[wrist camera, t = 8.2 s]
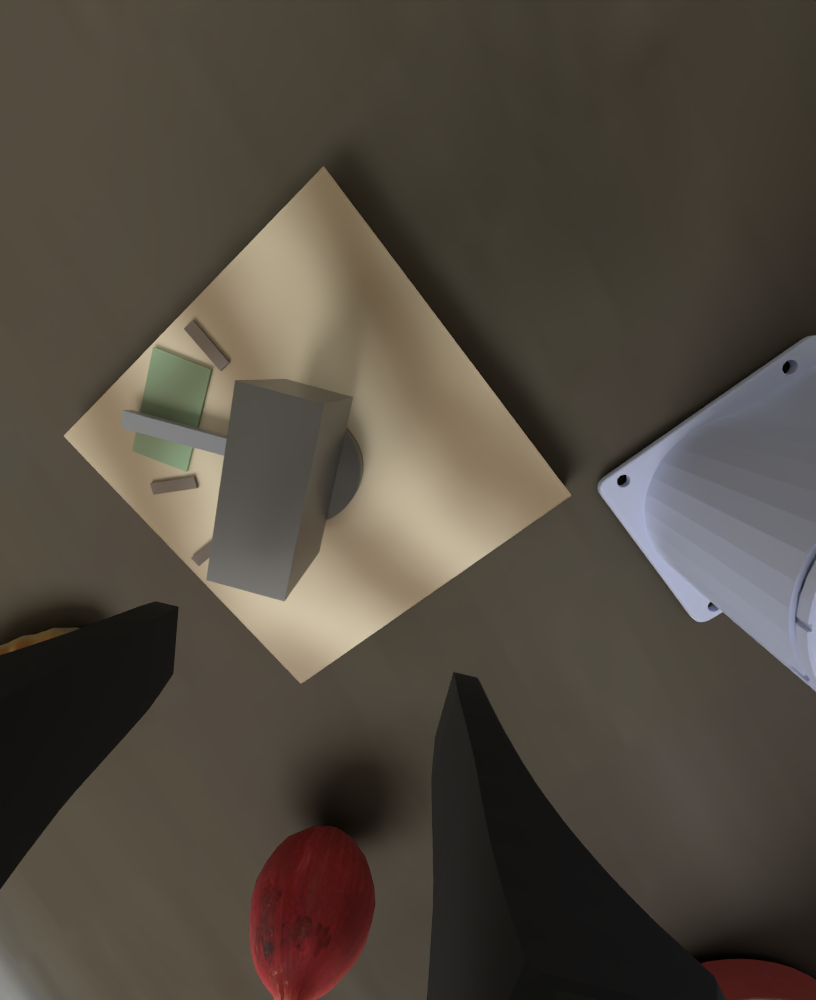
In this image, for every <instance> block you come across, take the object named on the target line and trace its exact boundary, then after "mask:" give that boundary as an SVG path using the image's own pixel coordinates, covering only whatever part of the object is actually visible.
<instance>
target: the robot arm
mask: <svg viewBox="0 0 816 1000" xmlns="http://www.w3.org/2000/svg"><path fill="white" fill-rule="evenodd" d="M786 361H788V362H789V364H790V368H789V370H788V371H787V372H786V373H784V372H783V370H782V367H783V364H784V363H785V362H786ZM621 475H626V477H627V479H626V482H625V483H624V484H622V485H618V484H617V479H618V478H619V476H621ZM598 491H599V494H600V495H601V496H602V498H603V499H604V500H605V502H606V503H607V504H608V506H609V507H610V509H611V510H612V511H613V513H614V514H615V515H616V517H617V518H618V519H619V521H620V522H621V523H622V525H623V526H624V527H625V529H626V530H627V532H628V533H629V534H630V536H631V537H632V538H633V540H634V541H635V542H636V544H637V545H638V546H639V548H640V549H641V551H642V552H643V553H644V555H645V556H646V557H647V559H648V560H649V561H650V563H651V564H652V565H653V567H654V568H655V569H656V571H657V572H658V574H659V575H660V576H661V578H662V579H663V580H664V582H665V583H666V584H667V586H668V587H669V588H670V590H671V591H672V592H673V594H674V595H675V597H676V598H677V599H678V601H679V602H680V603H681V605H682V606H683V607H684V609H685V610H686V611H687V613H688V614H689V615H690V616H691V617H692V618H693V619H694V620H695V621H698V622H705V621H708V620H710V619H712V618H713V617H715V616H717V615H719V614H720V613H722V612H723V613H725V614H726V615H727V616H728V617H729V618H730V619H732V620H733V621H734V622H735V623H736V624H737V625H739V626H740V627H741V628H742V629H743V630H744V631H746V632H747V633H748V634H749V635H750V636H751V637H753V638H754V639H755V640H756V641H757V642H758V643H760V644H761V645H762V646H763V647H764V648H765V649H767V650H768V651H769V652H770V653H771V654H772V655H774V656H775V657H776V658H777V659H778V660H779V661H781V662H782V663H783V664H784V665H785V666H787V667H788V668H789V669H790V670H791V671H792V672H794V673H795V674H796V675H797V676H798V677H799V678H801V679H802V680H803V681H804V682H805V683H806V684H808V685H809V686H810V687H811V688H812V689H813V690H815V691H816V335H814V336H807V337H805V338H803V339H801V340H800V341H798V342H797V343H796V344H794V345H793V346H791V347H790V348H788V349H787V350H785V351H784V352H783V353H781V354H780V355H778V356H777V357H775V358H774V359H773V360H771V361H770V362H768V363H767V364H765V365H764V366H762V367H761V368H760V369H758V370H757V371H755V372H754V373H752V374H751V375H750V376H748V377H747V378H745V379H744V380H742V381H741V382H739V383H738V384H737V385H735V386H734V387H732V388H731V389H729V390H728V391H726V392H725V393H724V394H722V395H721V396H719V397H718V398H716V399H715V400H714V401H712V402H711V403H709V404H708V405H706V406H705V407H703V408H702V409H701V410H699V411H698V412H696V413H695V414H693V415H692V416H690V417H689V418H688V419H686V420H685V421H683V422H682V423H680V424H679V425H678V426H676V427H675V428H673V429H672V430H670V431H669V432H667V433H666V434H665V435H663V436H662V437H660V438H659V439H657V440H656V441H655V442H653V443H652V444H650V445H649V446H647V447H646V448H644V449H643V450H642V451H640V452H639V453H637V454H636V455H634V456H633V457H631V458H630V459H629V460H627V461H626V462H624V463H623V464H621V465H620V466H619V467H617V468H616V469H614V470H613V471H611V472H610V473H608V474H607V475H606V476H604V477H603V478H602V479H601V480H600V481H599V483H598ZM710 602H712V603H713V604H714V605H713V606H711V607H708V604H709V603H710ZM177 619H178V607H177V606H173V605H168V604H164V603H160V602H152V603H149V604H146V605H143V606H140V607H137V608H134V609H131V610H128V611H126V612H123V613H120V614H118V615H115V616H112V617H110V618H107V619H104V620H101V621H99V622H96V623H93V624H91V625H88V626H85V627H82V628H80V629H77V630H74V631H72V632H69V633H66V634H63V635H60V636H57V637H54V638H51V639H48V640H45V641H42V642H39V643H36V644H33V645H30V646H27V647H24V648H21V649H18V650H15V651H12V652H8V653H5V654H2V655H0V889H1V888H2V886H3V885H4V883H5V882H6V881H7V879H8V878H9V877H10V875H11V874H12V872H13V871H14V870H15V868H16V867H17V866H18V864H19V863H20V861H21V860H22V859H23V857H24V856H25V855H26V853H27V852H28V851H29V849H30V848H31V847H32V845H33V844H34V843H35V842H36V840H37V839H38V838H39V836H40V835H41V834H42V832H43V831H44V830H45V828H46V827H47V826H48V824H49V823H50V822H51V820H52V819H53V818H54V816H55V815H56V814H57V813H58V811H59V810H60V809H61V808H62V807H63V805H64V804H65V803H66V802H67V801H68V799H69V798H70V797H71V796H72V795H73V793H74V792H75V791H76V790H77V789H78V788H79V787H80V786H81V784H82V783H83V782H84V781H85V780H86V779H87V778H88V777H89V776H90V774H91V773H92V772H93V771H94V770H95V769H96V768H97V767H98V766H99V764H100V763H101V762H102V761H103V760H104V759H105V758H106V757H107V756H108V754H109V753H110V752H111V751H112V750H113V749H114V748H115V747H116V746H117V744H118V743H119V742H120V741H121V740H122V739H123V738H124V737H125V736H126V734H127V733H128V732H129V731H130V730H131V729H132V728H133V726H134V725H135V724H136V723H137V722H138V721H139V720H140V719H141V717H142V716H143V715H144V714H145V713H146V712H147V710H148V709H149V708H150V707H151V705H152V704H153V702H154V701H155V700H156V698H157V697H158V695H159V694H160V693H161V691H162V690H163V688H164V687H165V685H166V684H167V682H168V681H169V679H170V678H171V676H172V675H173V670H174V657H175V644H176V632H177ZM432 833H433V880H434V881H433V916H432V932H431V948H430V964H429V979H428V993H427V1000H726V998H725V996H724V994H723V992H722V990H721V988H720V986H719V984H718V982H717V980H716V978H715V976H714V975H713V974H712V973H710V972H709V971H708V970H707V969H706V968H705V967H704V966H703V965H702V964H701V963H700V962H698V961H697V960H696V959H695V958H694V957H693V956H692V955H691V954H690V953H689V952H688V951H686V950H685V949H684V948H683V947H682V946H681V945H680V944H679V943H678V942H677V941H676V940H674V939H673V938H672V937H671V936H670V935H669V934H668V933H667V932H666V931H665V930H664V929H662V928H661V927H660V926H659V925H658V924H657V923H656V922H655V921H654V920H653V919H652V918H651V917H650V916H649V915H648V914H647V913H646V912H645V911H644V910H643V909H642V908H641V907H640V906H639V905H638V904H637V903H636V902H635V901H634V900H633V899H632V898H631V897H630V896H629V895H628V894H627V893H626V892H625V891H624V890H623V889H622V888H621V887H620V886H619V885H618V883H617V882H616V881H615V880H614V879H613V878H612V877H611V876H610V875H609V874H608V873H607V872H606V870H605V869H604V868H603V867H602V866H601V865H600V864H599V863H598V862H597V860H596V859H595V858H594V857H593V856H592V855H591V853H590V852H589V851H588V850H587V849H586V848H585V846H584V845H583V844H582V843H581V842H580V841H579V839H578V838H577V837H576V836H575V835H574V833H573V832H572V831H571V830H570V828H569V827H568V826H567V825H566V823H565V822H564V821H563V820H562V818H561V817H560V816H559V814H558V813H557V812H556V810H555V809H554V808H553V806H552V805H551V804H550V802H549V801H548V799H547V798H546V797H545V795H544V794H543V793H542V791H541V790H540V788H539V787H538V785H537V784H536V783H535V781H534V779H533V778H532V776H531V775H530V773H529V772H528V770H527V768H526V767H525V765H524V764H523V762H522V760H521V759H520V757H519V755H518V754H517V752H516V750H515V749H514V747H513V745H512V743H511V741H510V740H509V738H508V736H507V734H506V733H505V731H504V729H503V727H502V725H501V723H500V722H499V720H498V718H497V716H496V714H495V712H494V710H493V708H492V706H491V704H490V702H489V700H488V698H487V696H486V694H485V692H484V689H483V687H482V685H481V683H480V681H479V680H478V678H476V677H472V676H468V675H464V674H459V673H455V672H453V676H452V679H451V683H450V686H449V690H448V694H447V697H446V701H445V704H444V708H443V711H442V715H441V718H440V722H439V725H438V729H437V732H436V736H435V745H434V755H433V767H432Z"/></svg>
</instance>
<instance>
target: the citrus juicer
mask: <svg viewBox="0 0 816 1000" xmlns="http://www.w3.org/2000/svg"><path fill="white" fill-rule="evenodd" d="M701 964H702V965H703V966H704V967H705V968H706V969H707V970H708V971H709V972H710V973H712V974H713V975H714V976H715V978H716V980H717V982H718V984H719V986H720V988H721V990H722V992H723V994H724V996H725V998H726V1000H816V980H815V979H814V978H812V977H811V976H809V975H807V974H805V973H803V972H801V971H798V970H796V969H794V968H791V967H788V966H784V965H781V964H778V963H774V962H768V961H761V960H754V959H724V960H716V961H708V962H704V963H701Z"/></svg>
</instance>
